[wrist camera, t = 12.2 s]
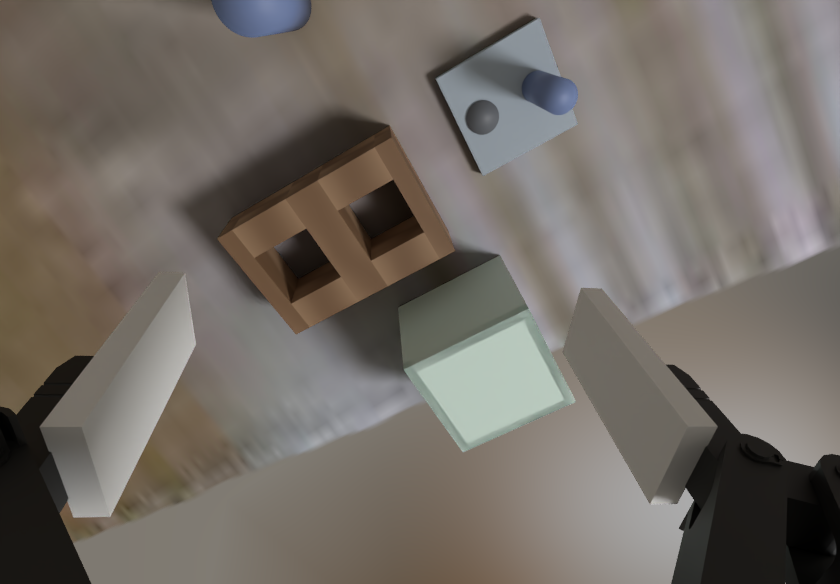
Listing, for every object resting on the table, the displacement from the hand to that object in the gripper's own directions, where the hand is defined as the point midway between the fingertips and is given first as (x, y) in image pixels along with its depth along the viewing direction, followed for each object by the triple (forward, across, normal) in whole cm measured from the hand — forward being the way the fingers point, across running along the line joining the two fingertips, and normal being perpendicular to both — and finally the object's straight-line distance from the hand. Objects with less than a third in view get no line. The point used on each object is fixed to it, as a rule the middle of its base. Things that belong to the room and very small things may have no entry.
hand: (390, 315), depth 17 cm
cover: (+17, +8, -11) cm, 22 cm away
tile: (+17, +8, +5) cm, 20 cm away
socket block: (+18, -2, -4) cm, 18 cm away
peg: (+18, -5, +9) cm, 20 cm away
